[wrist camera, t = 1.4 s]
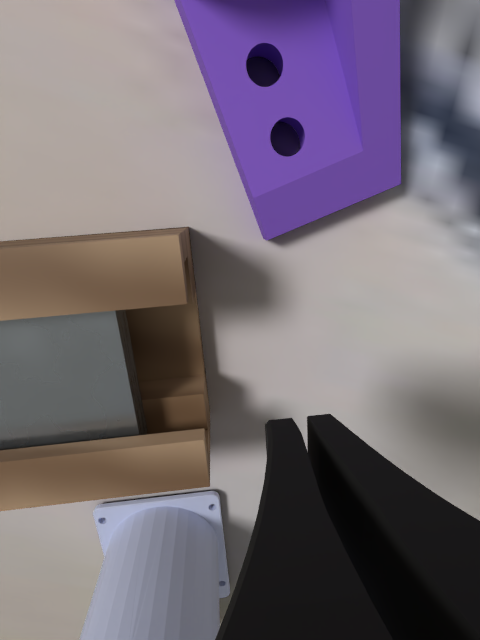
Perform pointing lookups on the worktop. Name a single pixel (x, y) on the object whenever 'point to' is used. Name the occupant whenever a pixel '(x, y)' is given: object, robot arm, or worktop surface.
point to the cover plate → (68, 380)
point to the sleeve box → (149, 354)
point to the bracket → (304, 99)
